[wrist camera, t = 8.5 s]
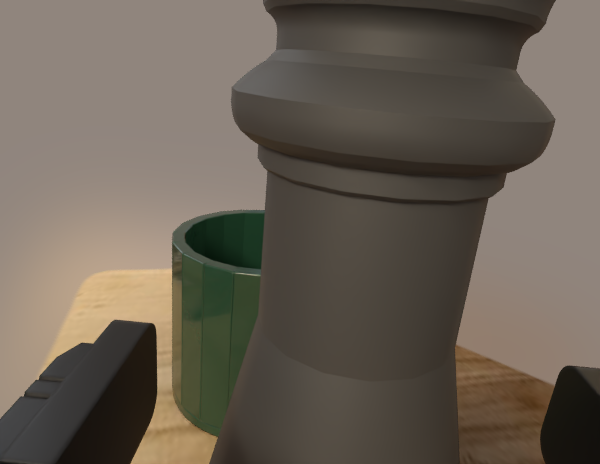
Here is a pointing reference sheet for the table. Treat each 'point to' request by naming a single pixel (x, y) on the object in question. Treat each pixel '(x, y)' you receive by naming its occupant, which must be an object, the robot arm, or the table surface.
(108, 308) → the table surface
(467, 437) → the table surface
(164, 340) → the table surface
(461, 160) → the candle holder
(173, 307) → the pot
